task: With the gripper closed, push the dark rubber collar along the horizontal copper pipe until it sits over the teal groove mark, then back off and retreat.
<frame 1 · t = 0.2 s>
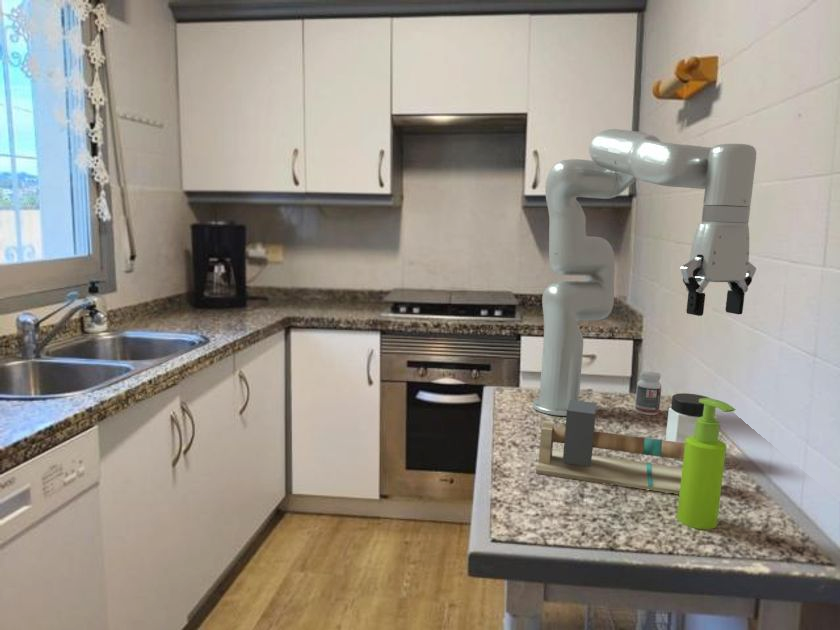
hand: (714, 313, 119), 31 cm above the countertop, tool pointing down, fingers open, 9 cm apart
collar: (579, 432, 125), point 7 cm above the countertop, slide at 0.0 cm
pipe rig: (620, 474, 124), on the countertop
soap dispenser: (699, 523, 106), on the countertop
jar: (687, 456, 136), on the countertop
pill bottle: (646, 413, 165), on the countertop
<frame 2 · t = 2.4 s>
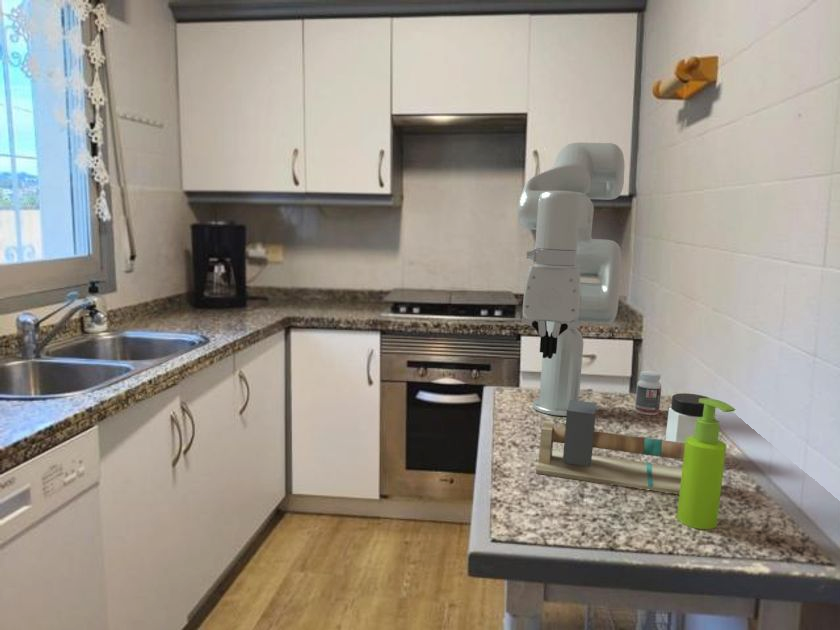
hand: (547, 356, 125), 21 cm above the countertop, tool pointing down, fingers closed
nothing on the countertop moved.
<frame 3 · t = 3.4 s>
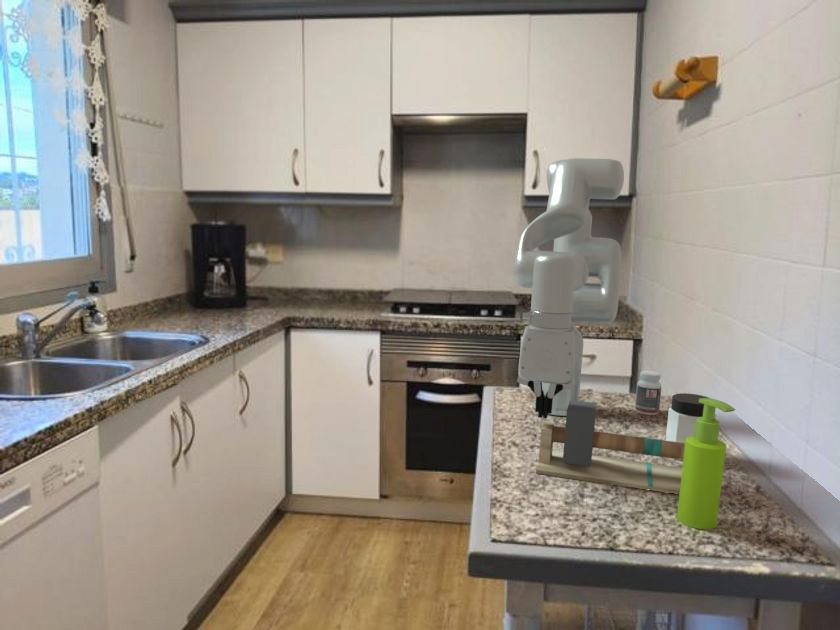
hand: (543, 416, 127), 9 cm above the countertop, tool pointing down, fingers closed
nothing on the countertop moved.
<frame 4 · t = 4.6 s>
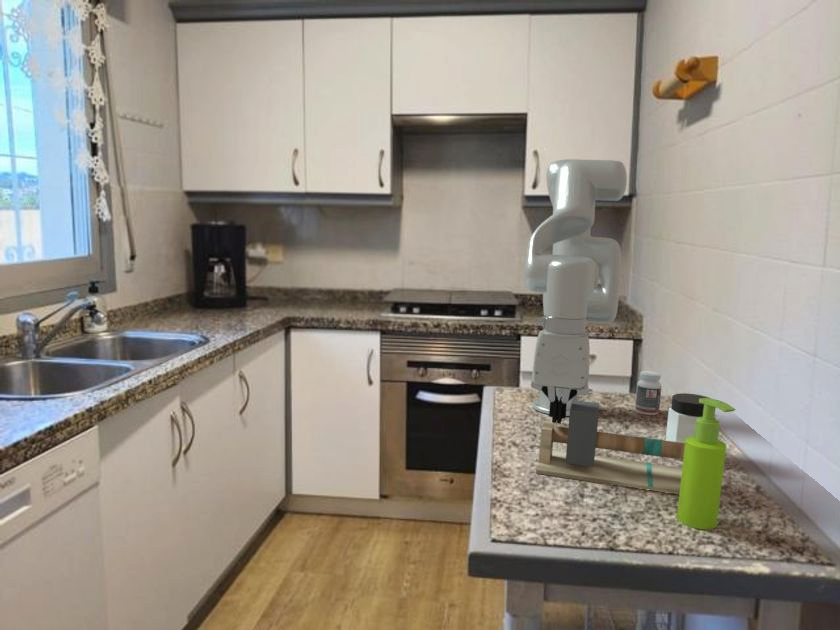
hand: (557, 421, 126), 9 cm above the countertop, tool pointing down, fingers closed
collar: (582, 432, 125), point 7 cm above the countertop, slide at 0.5 cm, touching gripper
everything else where it was.
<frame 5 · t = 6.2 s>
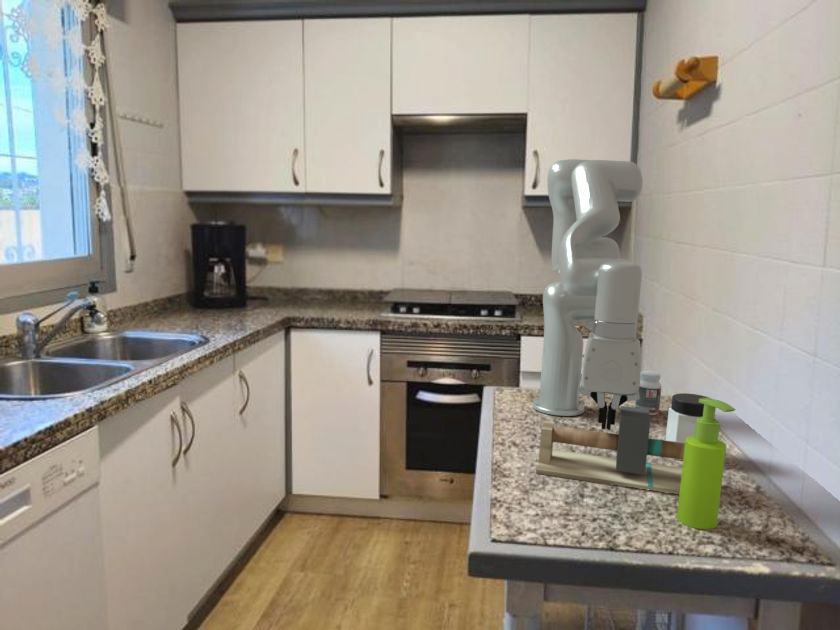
hand: (606, 427, 124), 9 cm above the countertop, tool pointing down, fingers closed
collar: (632, 439, 123), point 7 cm above the countertop, slide at 9.5 cm, touching gripper
everything else where it was.
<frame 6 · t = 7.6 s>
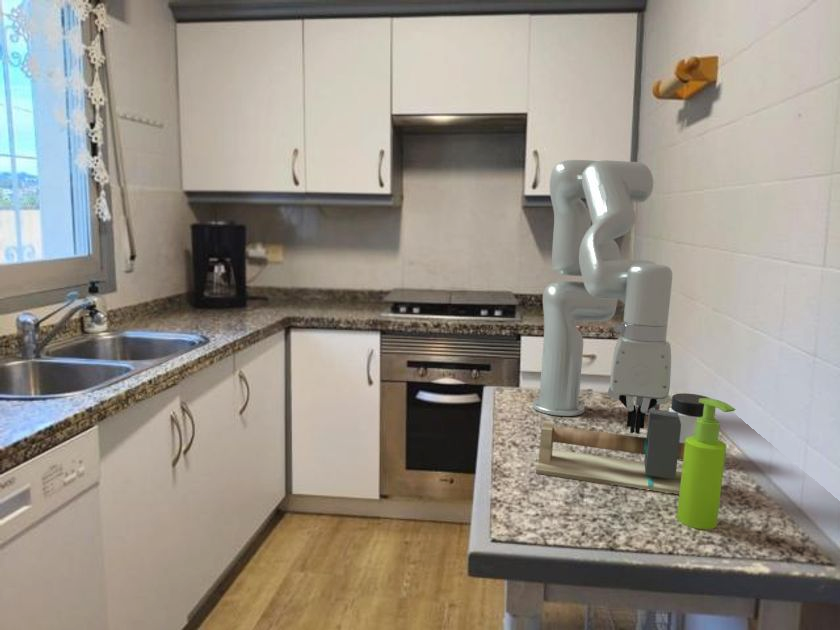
hand: (634, 431, 122), 9 cm above the countertop, tool pointing down, fingers closed
collar: (661, 443, 121), point 7 cm above the countertop, slide at 14.6 cm, touching gripper
everything else where it was.
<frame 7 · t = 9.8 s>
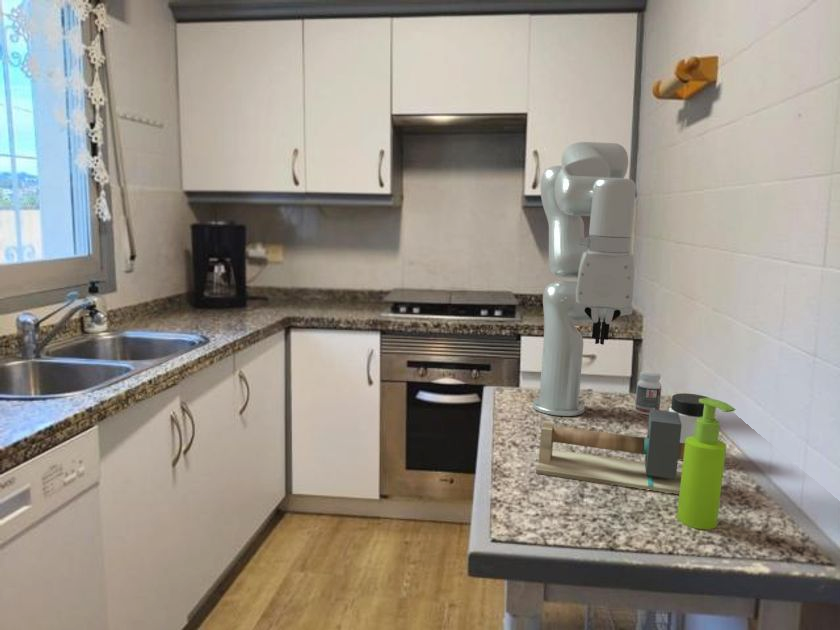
hand: (599, 342, 126), 24 cm above the countertop, tool pointing down, fingers closed
collar: (662, 443, 121), point 7 cm above the countertop, slide at 14.7 cm
everything else where it was.
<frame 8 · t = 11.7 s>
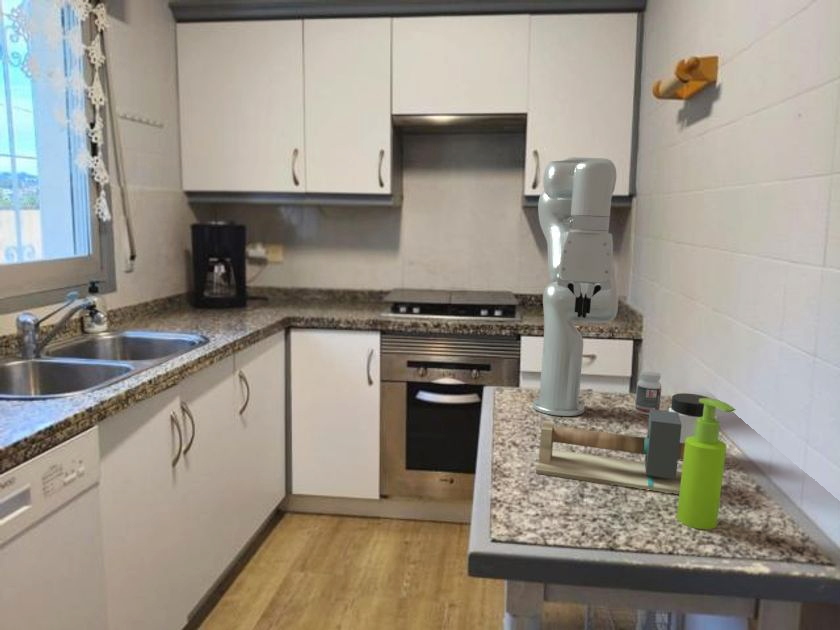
hand: (581, 316, 135), 27 cm above the countertop, tool pointing down, fingers closed
nothing on the countertop moved.
at the end: collar slide at 14.7 cm; the gripper is holding nothing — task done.
